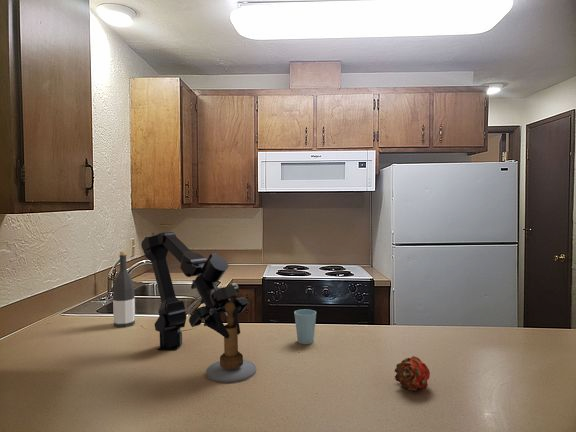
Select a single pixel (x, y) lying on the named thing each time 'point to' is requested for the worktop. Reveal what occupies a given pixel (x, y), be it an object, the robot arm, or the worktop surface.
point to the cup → (305, 325)
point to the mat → (231, 372)
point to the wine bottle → (123, 296)
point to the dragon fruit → (412, 373)
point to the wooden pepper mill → (231, 342)
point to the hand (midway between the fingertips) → (233, 335)
